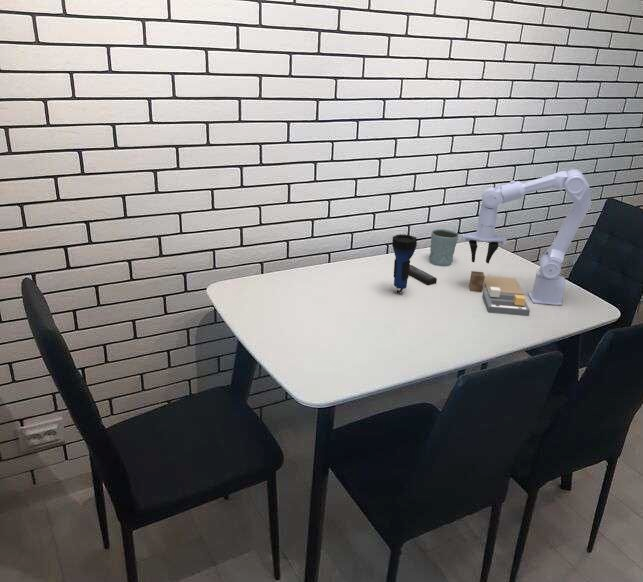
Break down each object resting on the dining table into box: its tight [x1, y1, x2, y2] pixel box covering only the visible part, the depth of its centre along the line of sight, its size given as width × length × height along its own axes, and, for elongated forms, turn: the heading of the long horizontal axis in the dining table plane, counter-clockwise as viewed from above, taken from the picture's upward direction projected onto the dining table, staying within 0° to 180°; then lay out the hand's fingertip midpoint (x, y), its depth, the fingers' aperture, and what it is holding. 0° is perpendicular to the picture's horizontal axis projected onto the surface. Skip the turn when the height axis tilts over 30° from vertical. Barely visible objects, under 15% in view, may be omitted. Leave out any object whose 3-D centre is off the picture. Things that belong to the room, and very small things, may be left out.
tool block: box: [468, 270, 486, 293], centre depth 201 cm, size 4×4×6 cm
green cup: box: [429, 228, 459, 267], centre depth 222 cm, size 10×10×12 cm
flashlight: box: [392, 233, 418, 294], centre depth 192 cm, size 8×8×20 cm
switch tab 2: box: [513, 294, 526, 306], centre depth 187 cm, size 3×3×2 cm
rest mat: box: [483, 275, 524, 295], centre depth 206 cm, size 12×14×1 cm
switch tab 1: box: [489, 287, 501, 297], centre depth 192 cm, size 3×3×2 cm
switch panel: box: [482, 291, 531, 317], centre depth 190 cm, size 13×12×2 cm
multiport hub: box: [408, 264, 438, 286], centre depth 210 cm, size 4×14×2 cm, turn 32°
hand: (480, 261), depth 198 cm, fingers open, 4 cm apart
